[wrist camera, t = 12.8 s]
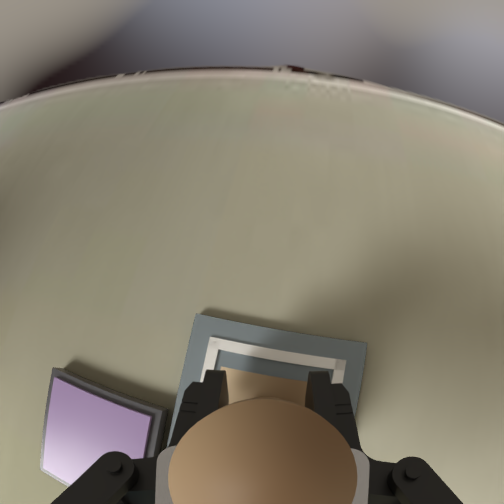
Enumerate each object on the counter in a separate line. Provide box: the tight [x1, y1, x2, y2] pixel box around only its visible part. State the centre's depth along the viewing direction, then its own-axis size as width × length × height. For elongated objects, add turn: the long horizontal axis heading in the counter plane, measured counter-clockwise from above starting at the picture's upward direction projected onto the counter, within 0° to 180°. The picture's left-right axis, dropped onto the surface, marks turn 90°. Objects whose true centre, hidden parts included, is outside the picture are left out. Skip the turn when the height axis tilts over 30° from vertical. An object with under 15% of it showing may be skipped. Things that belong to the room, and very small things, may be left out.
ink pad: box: [40, 367, 168, 487], centre depth 15 cm, size 8×8×2 cm
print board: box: [167, 313, 367, 447], centre depth 16 cm, size 10×10×1 cm
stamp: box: [168, 366, 357, 504], centre depth 10 cm, size 5×5×10 cm
